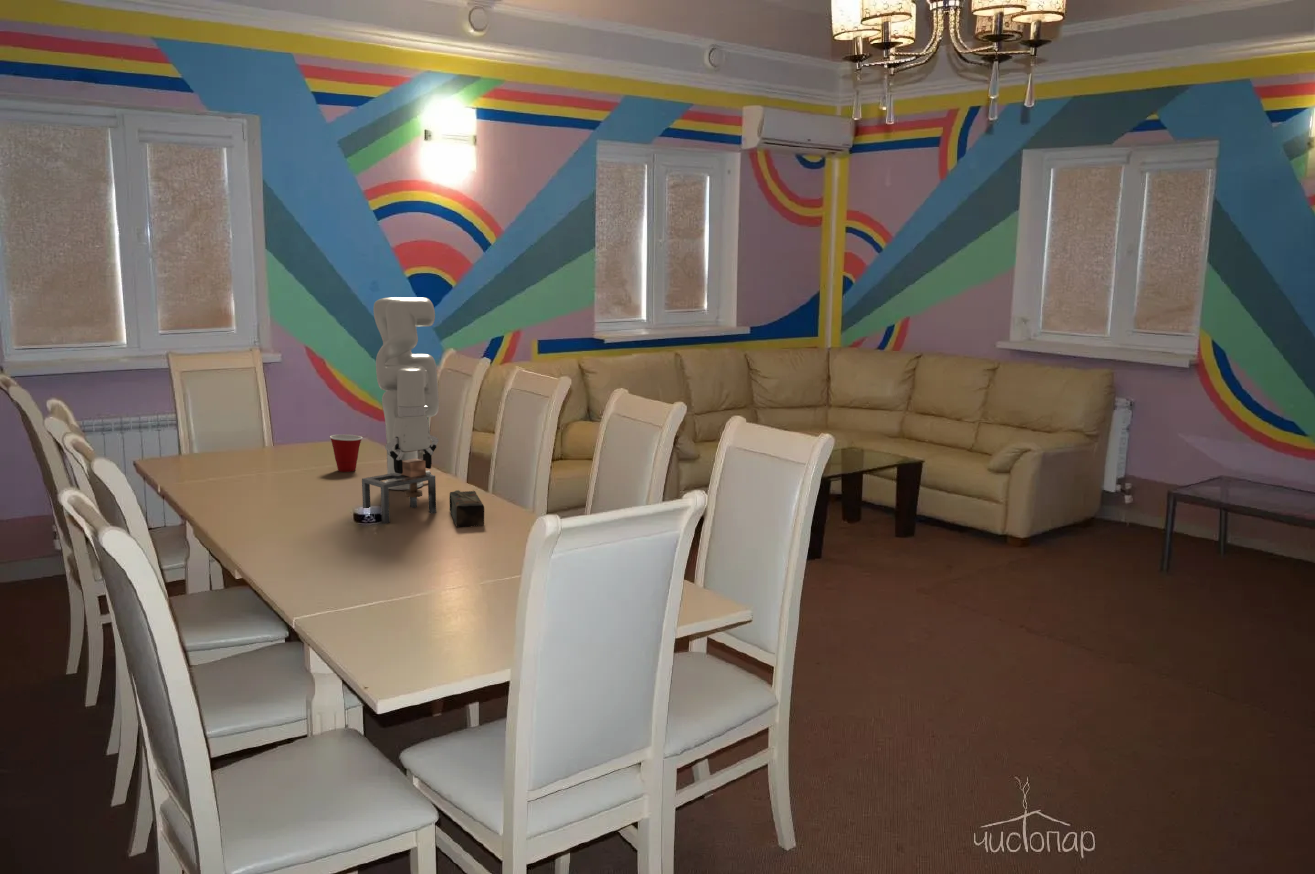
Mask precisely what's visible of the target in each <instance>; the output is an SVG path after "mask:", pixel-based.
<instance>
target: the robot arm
mask: <svg viewBox="0 0 1315 874" xmlns="http://www.w3.org/2000/svg"><path fill="white" fill-rule="evenodd" d="M373 316H374V321H375V325H376V327H377V330H378V332H379V334H380V337H381V339H382V345H381V347H380V348H379V350H378V352H377V354H376V358H375V370H376V381H377V384H378V387H379V388H380V390H382V391H385V392H383V394H382V396H381V402H382V403H381V405H382V409H383V410H382V411H383V415H384V422H385V423H384V424H385V441H386V444H385V445H384V448H385V450H386V466H387V467H386V468H387V469H386V471H387V473H386V474H391V473H399V474H402V473H403V462H402V461H403V460H409V459H419V458H418V457H419V455H418V451H423V452H424V453H422V460H424V461H425V466H426V469H428V470H426V473H427V474H431V475H432V471H430V470H429V469H432V464H433V463H432V459H433V457H432V455H434V451H435V450H436V449H437V445H438V443H439V442H440V441H439V440H440V439H439V437H437V436H434V435H433V434H430V433H431V432H430V424H429V420H428V418H432V417H435V416H436V415H437V414H438V413H439V409H440V400H439V398H440V397H439V384H438V383H439V382H438V370H437V364H436V360H435V358H434V357H433V356H432V355H431V354H428V353H413V352H412V350H413V349H415V347H416V346H417V345H418V341H419V337H418V331H417V330H418V329H417V327H431V326H433V325H434V323H435V320H436V311H435V306H434V304H433V302H432V301H431V300H430V298H428V297H404V296H403V297H401V296H400V297H399V296H398V297H397V296H394V297H391V296H390V297H383V298H379V299H377V300H375V302H374V303H373ZM397 480H402V479H397ZM397 480H396V479H388V480H384V482H391V481H397ZM423 486H424V481H422V482H417V489H418V488H422V487H423ZM389 490H393V491H394V490H395V491H397V490H398V491H403V490H404V491H407V490H409V484H405V485H400V486H394V487H389Z"/></svg>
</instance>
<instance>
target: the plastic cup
mask: <svg viewBox="0 0 1315 874" xmlns="http://www.w3.org/2000/svg"><path fill="white" fill-rule="evenodd" d="M329 438H330V440H331V441H330V442H331V444H332V445H331V446H332V449H333V455H334V459H335V464H336V467H337V470H338V472H341V473H342V472H344V473H348V472H349V473H350V472H354V471H356V470H357V462H358V458H359V450H360V445H361V443H362V440H363V436H362V435H361V436H360V435H354V434H332V435H330V436H329Z"/></svg>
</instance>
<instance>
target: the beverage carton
mask: <svg viewBox="0 0 1315 874" xmlns="http://www.w3.org/2000/svg"><path fill="white" fill-rule="evenodd" d="M448 500H449V512H450V514H451V517H452V519H453V522H454V525H455V526H456V527H457V528H465V527H467V528H469V527H471V526H472V527H483V526H484V525H485V506H484V503H483V502H482V501H481V499H480V497H479V496H478V494H477V492H476V491H474V490H469V491H461V490H459V489H458V490H454V491H450V492H449V499H448Z"/></svg>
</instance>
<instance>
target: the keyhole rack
mask: <svg viewBox="0 0 1315 874" xmlns="http://www.w3.org/2000/svg"><path fill="white" fill-rule="evenodd" d="M388 479H396V480H397V479H402V480H397V481H391V482H385V481H387V480H388ZM422 481H423V482H427V487H428V488H427V490H428V491H427V492H428V494H427V495H428V513H429V514H432V515H433V514H436V513H437V494H436V493H437V491H436V489H437V487H436V485H437V484H436V483H437V481H436V475H435V474H432V473H431V474H427V473H426V475H421V476H415V477H408V476H405V475H401V474H399V473H391V474H387V473H386V474H381V475H380V474H379V475H375V476H370V477H369V476H368V477H363V478H361V489H362V490H361V491H362V493H361V495H362V509H363V508H369V507H371V491H370V490H371V486H375V487H378V488H380V501H381V502H380V503H381V505H380V506H381V508H380V509H381V523H382V524H390V523H391V522H390V493H389V492H390V491H389V490H390V489H389V487H394V486H400V485H405V484H409V489H408V490H410V484H411V483H416V482H422ZM417 507H418V497H409V508H412V509H413V508H414V509H415V508H417Z"/></svg>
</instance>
